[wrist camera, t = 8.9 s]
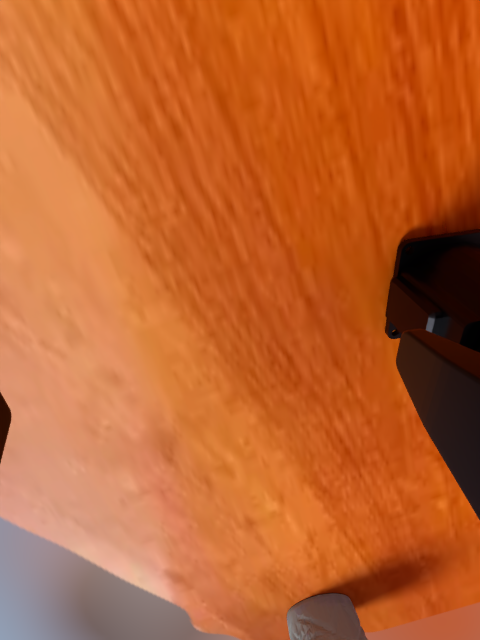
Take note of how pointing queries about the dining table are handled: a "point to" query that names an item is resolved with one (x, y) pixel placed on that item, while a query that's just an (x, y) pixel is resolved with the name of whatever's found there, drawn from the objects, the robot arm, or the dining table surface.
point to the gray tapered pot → (324, 619)
